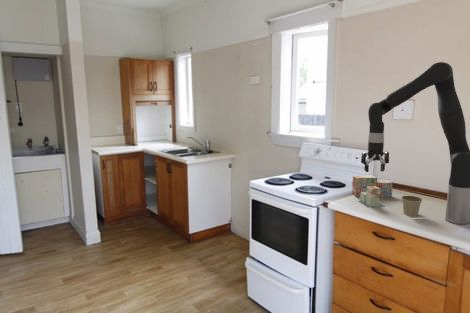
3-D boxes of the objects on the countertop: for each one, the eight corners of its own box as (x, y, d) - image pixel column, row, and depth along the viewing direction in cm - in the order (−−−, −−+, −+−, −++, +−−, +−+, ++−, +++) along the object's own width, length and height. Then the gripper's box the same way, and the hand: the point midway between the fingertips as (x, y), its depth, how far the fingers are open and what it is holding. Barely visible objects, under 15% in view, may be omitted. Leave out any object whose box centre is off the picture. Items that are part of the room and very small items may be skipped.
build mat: (374, 201, 191) (374, 200, 190) (385, 207, 179) (385, 206, 179) (357, 201, 189) (357, 200, 189) (367, 208, 178) (368, 207, 178)
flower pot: (409, 219, 162) (411, 201, 160) (395, 212, 171) (396, 196, 169) (425, 217, 164) (427, 200, 163) (410, 211, 173) (412, 194, 172)
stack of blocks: (387, 194, 203) (388, 175, 201) (391, 197, 197) (393, 177, 195) (351, 195, 204) (352, 175, 201) (355, 198, 197) (356, 177, 195)
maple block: (374, 195, 183) (375, 186, 182) (379, 197, 178) (380, 188, 177) (366, 195, 182) (366, 186, 181) (370, 198, 177) (371, 188, 177)
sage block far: (368, 200, 190) (368, 191, 189) (372, 203, 185) (373, 194, 184) (360, 200, 190) (360, 192, 189) (364, 203, 185) (364, 194, 184)
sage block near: (374, 203, 184) (374, 195, 183) (379, 206, 179) (379, 197, 178) (365, 204, 183) (366, 195, 182) (370, 207, 178) (370, 198, 177)
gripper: (366, 142, 171) (365, 173, 173) (393, 141, 172) (391, 172, 175) (359, 140, 178) (358, 170, 181) (385, 140, 180) (383, 169, 182)
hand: (374, 171), depth 178 cm, fingers open, 8 cm apart
